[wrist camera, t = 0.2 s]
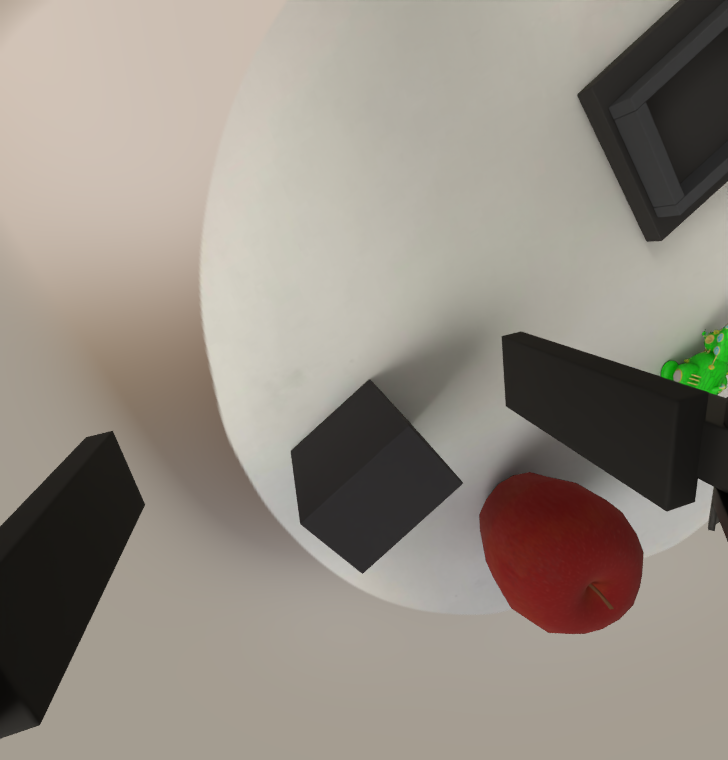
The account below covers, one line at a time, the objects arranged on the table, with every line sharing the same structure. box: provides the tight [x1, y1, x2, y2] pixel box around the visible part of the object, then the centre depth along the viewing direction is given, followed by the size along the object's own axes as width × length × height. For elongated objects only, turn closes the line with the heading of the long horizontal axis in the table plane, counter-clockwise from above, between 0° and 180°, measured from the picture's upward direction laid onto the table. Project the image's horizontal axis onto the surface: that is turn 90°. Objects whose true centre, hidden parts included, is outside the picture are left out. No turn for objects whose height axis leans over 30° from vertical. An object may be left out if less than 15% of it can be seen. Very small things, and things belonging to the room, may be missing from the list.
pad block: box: [291, 379, 463, 573], centre depth 30 cm, size 6×9×10 cm, turn 131°
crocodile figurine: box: [661, 324, 728, 395], centre depth 40 cm, size 7×18×4 cm, turn 163°
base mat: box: [578, 0, 728, 241], centre depth 32 cm, size 14×14×4 cm
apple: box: [479, 472, 643, 634], centre depth 35 cm, size 12×12×13 cm
